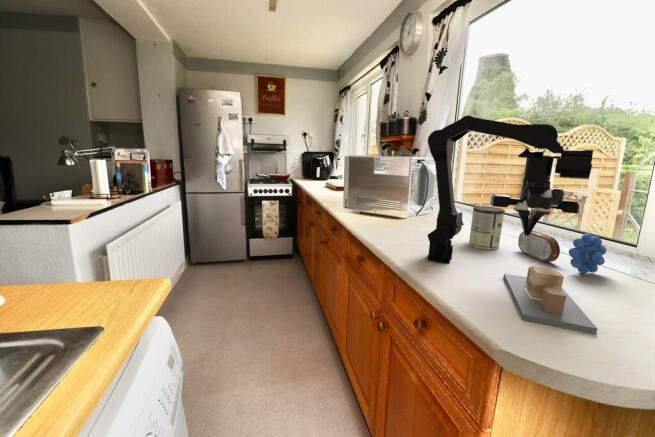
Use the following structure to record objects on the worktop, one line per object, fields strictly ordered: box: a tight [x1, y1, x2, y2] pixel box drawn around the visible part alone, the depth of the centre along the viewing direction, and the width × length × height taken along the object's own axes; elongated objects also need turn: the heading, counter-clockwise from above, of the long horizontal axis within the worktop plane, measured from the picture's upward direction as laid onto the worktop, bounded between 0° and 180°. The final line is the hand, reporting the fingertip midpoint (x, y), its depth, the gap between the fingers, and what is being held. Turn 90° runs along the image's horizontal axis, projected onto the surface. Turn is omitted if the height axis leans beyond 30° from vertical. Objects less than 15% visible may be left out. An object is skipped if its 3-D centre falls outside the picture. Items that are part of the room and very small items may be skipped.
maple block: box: [527, 265, 565, 300], centre depth 69 cm, size 5×5×6 cm
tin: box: [517, 230, 561, 263], centre depth 102 cm, size 15×3×8 cm, turn 7°
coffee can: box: [468, 205, 506, 251], centre depth 113 cm, size 10×10×14 cm
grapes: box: [568, 233, 607, 274], centre depth 87 cm, size 12×7×12 cm, turn 99°
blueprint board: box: [503, 266, 598, 335], centre depth 70 cm, size 12×24×5 cm, turn 159°
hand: (526, 235), depth 81 cm, fingers closed
